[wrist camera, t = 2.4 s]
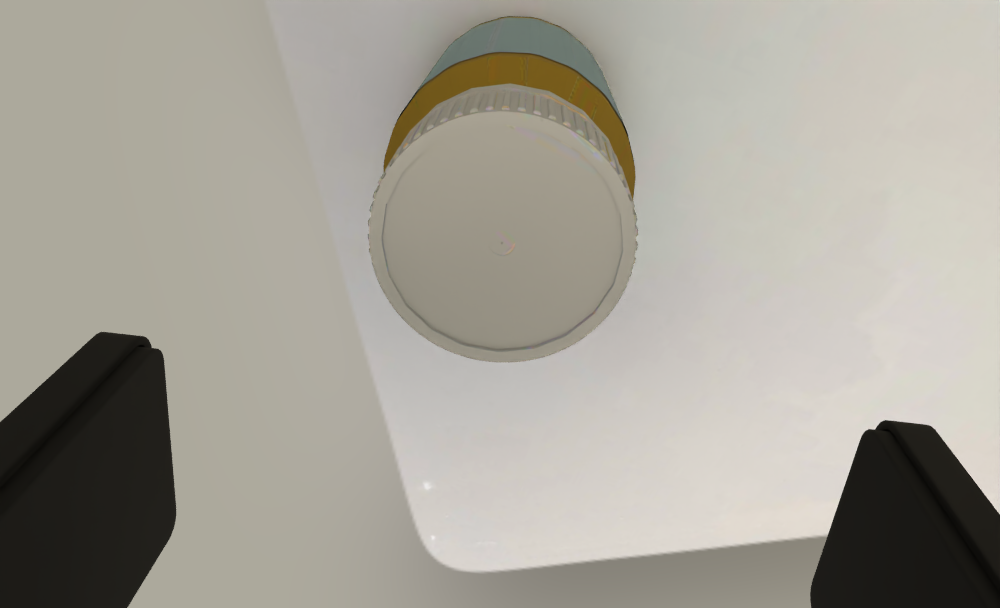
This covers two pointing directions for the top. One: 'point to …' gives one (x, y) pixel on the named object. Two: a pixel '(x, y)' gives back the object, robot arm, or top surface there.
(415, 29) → the top surface
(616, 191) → the bottle
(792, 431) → the top surface
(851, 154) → the top surface
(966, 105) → the top surface
